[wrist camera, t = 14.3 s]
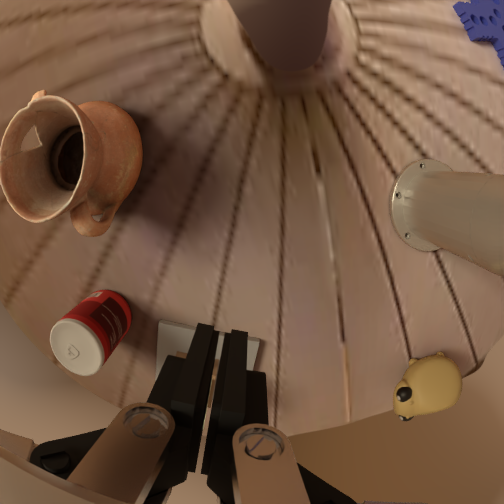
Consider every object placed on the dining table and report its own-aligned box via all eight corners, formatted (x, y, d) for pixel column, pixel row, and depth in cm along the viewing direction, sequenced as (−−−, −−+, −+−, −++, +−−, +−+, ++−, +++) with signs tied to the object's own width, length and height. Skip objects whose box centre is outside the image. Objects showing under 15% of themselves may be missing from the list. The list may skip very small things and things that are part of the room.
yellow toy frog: (379, 360, 43) (405, 402, 33) (443, 334, 42) (477, 368, 32) (383, 402, 46) (403, 444, 35) (441, 378, 45) (469, 413, 34)
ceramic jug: (45, 131, 35) (-22, 127, 21) (126, 78, 33) (70, 46, 20) (87, 242, 39) (26, 276, 26) (174, 200, 38) (131, 219, 24)
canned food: (81, 318, 42) (44, 353, 31) (97, 277, 40) (56, 307, 29) (122, 345, 43) (92, 387, 32) (141, 306, 41) (110, 345, 30)
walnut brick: (218, 359, 42) (215, 376, 38) (213, 390, 43) (210, 407, 39) (177, 351, 42) (170, 366, 38) (174, 382, 43) (168, 398, 39)
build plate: (259, 338, 42) (259, 342, 41) (244, 401, 45) (243, 405, 44) (160, 319, 42) (158, 322, 41) (156, 383, 44) (155, 387, 43)
